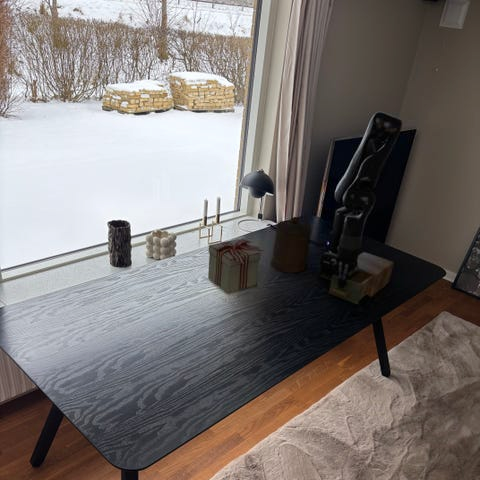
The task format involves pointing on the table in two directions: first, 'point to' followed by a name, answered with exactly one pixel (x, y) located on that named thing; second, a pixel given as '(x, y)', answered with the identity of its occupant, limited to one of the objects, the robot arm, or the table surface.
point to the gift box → (233, 264)
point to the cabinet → (375, 270)
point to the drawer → (352, 287)
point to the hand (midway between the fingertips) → (341, 287)
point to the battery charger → (327, 266)
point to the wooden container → (291, 245)
